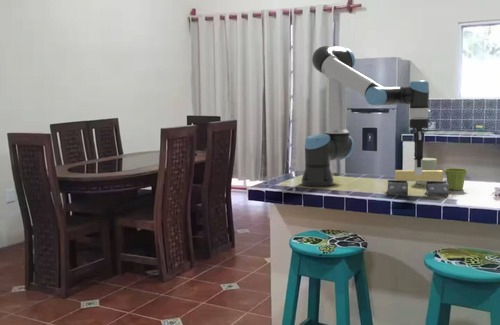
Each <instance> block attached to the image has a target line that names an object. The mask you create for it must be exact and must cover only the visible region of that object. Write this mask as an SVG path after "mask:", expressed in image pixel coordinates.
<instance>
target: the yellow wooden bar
mask: <svg viewBox="0 0 500 325" xmlns="http://www.w3.org/2000/svg"><path fill="white" fill-rule="evenodd" d="M394 180H395V181H407V182H409V181H413V182H414V181H415V182H416V181H444V170H440V169H436V170H422V175H415V169H395V170H394Z"/></svg>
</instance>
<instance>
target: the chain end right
mask: <svg viewBox="0 0 500 325" xmlns="http://www.w3.org/2000/svg"><path fill="white" fill-rule="evenodd" d="M449 190H450V189H449V184H447V180H443V181H426V186H425V193H426V194H427V196H429V197H430V196H433V197H449V194H450V193H449Z"/></svg>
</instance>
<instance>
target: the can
mask: <svg viewBox="0 0 500 325" xmlns="http://www.w3.org/2000/svg"><path fill="white" fill-rule="evenodd" d="M437 160H438V159H437V158H436V157H435V158H433V157H423V159H422V170H437V163H438V162H437ZM415 184H417V185H426V181H415Z"/></svg>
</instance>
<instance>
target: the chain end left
mask: <svg viewBox="0 0 500 325" xmlns="http://www.w3.org/2000/svg"><path fill="white" fill-rule="evenodd" d="M408 194H409V183H408V181H395V179H387V195H391V196H392V195H394V196H408Z"/></svg>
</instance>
